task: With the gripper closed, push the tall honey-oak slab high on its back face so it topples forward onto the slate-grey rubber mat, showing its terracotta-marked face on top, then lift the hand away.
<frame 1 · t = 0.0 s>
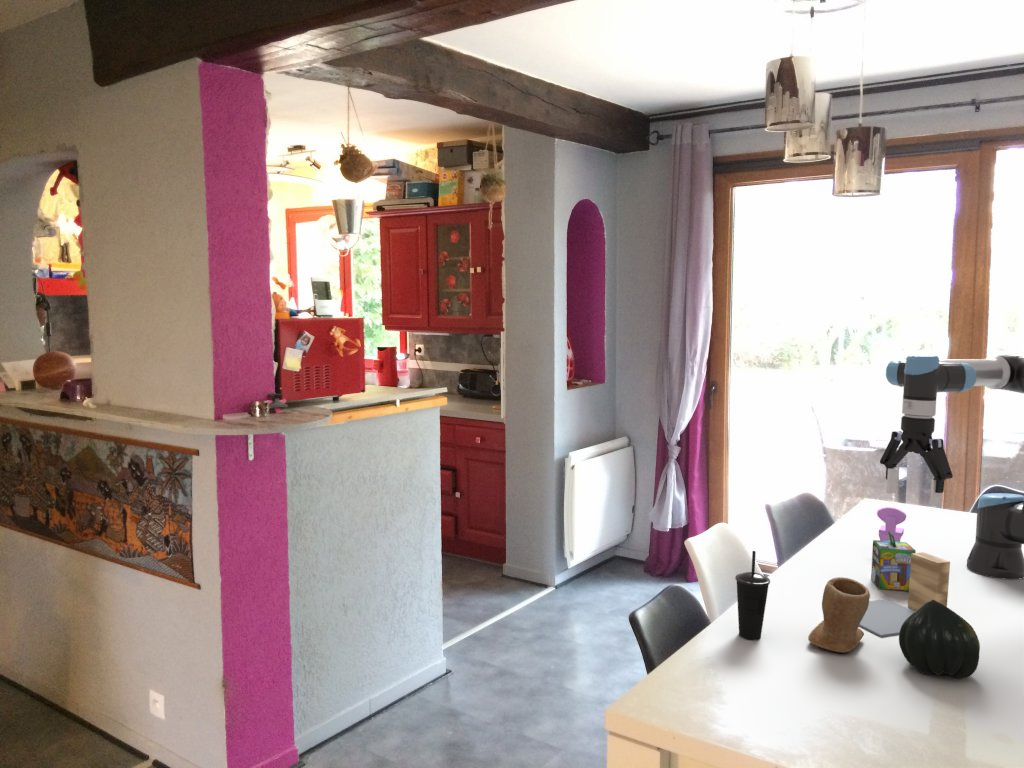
hand: (912, 499, 202), 28 cm above the table, tool pointing down, fingers open, 13 cm apart
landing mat: (883, 617, 196), on the table
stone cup: (839, 644, 180), on the table
drinking cup: (749, 636, 183), on the table
oak slab: (926, 611, 201), on the table
squash: (936, 671, 168), on the table
toy chair: (889, 553, 251), on the table
chalk box: (891, 585, 220), on the table
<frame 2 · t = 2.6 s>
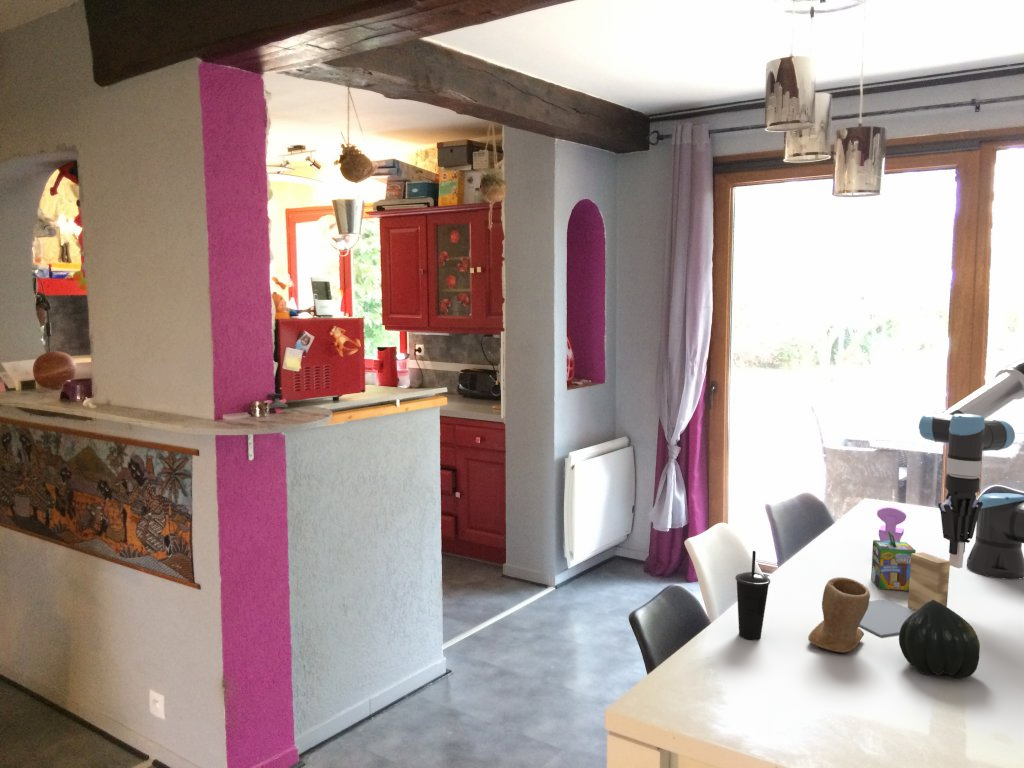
hand: (955, 566, 203), 11 cm above the table, tool pointing down, fingers closed
nothing on the table moved.
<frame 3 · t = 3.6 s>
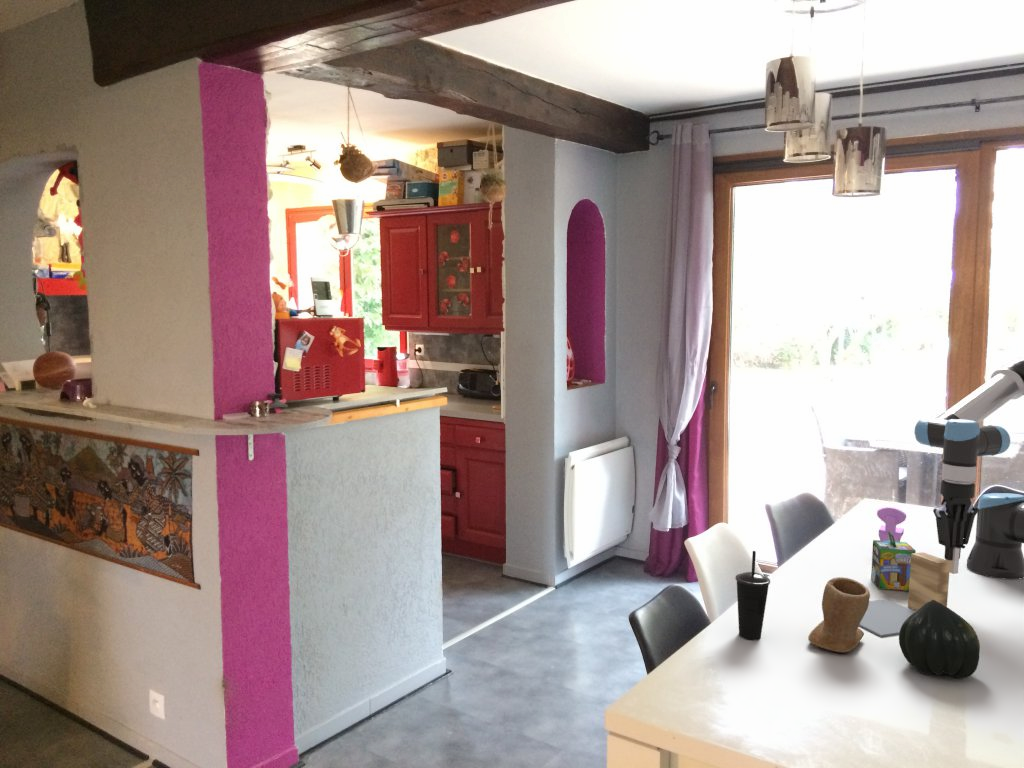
hand: (951, 571, 203), 10 cm above the table, tool pointing down, fingers closed
nothing on the table moved.
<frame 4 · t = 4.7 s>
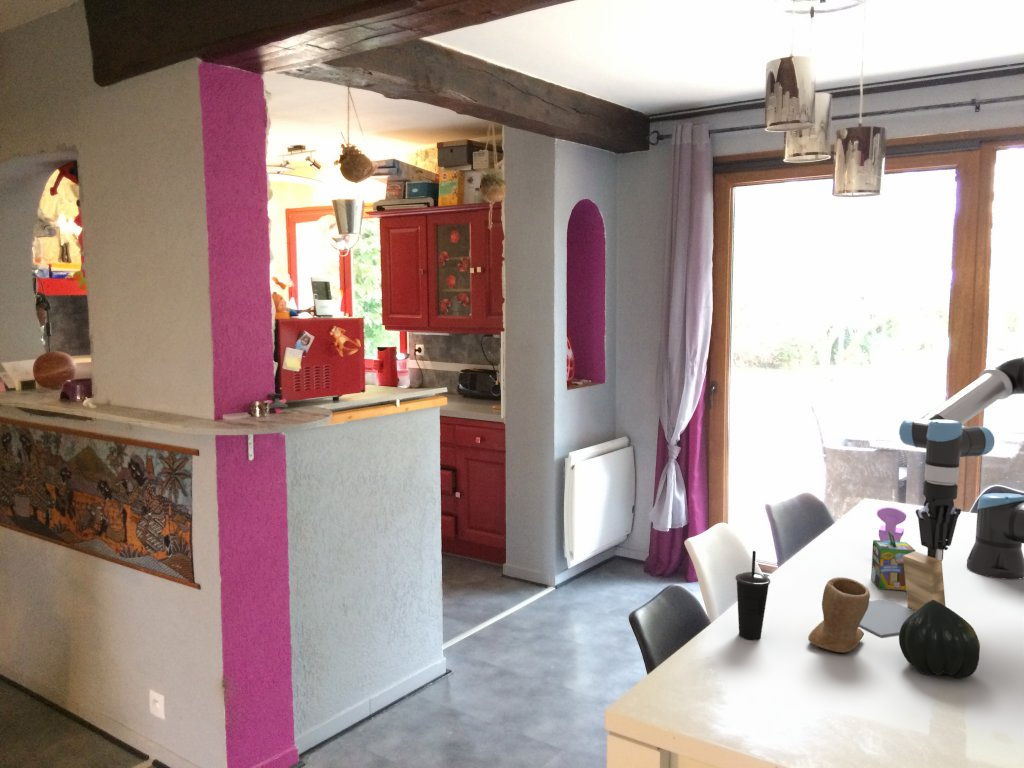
hand: (933, 573, 200), 10 cm above the table, tool pointing down, fingers closed
oak slab: (926, 609, 201), on the table, tilted 11°, touching gripper
everything else where it was.
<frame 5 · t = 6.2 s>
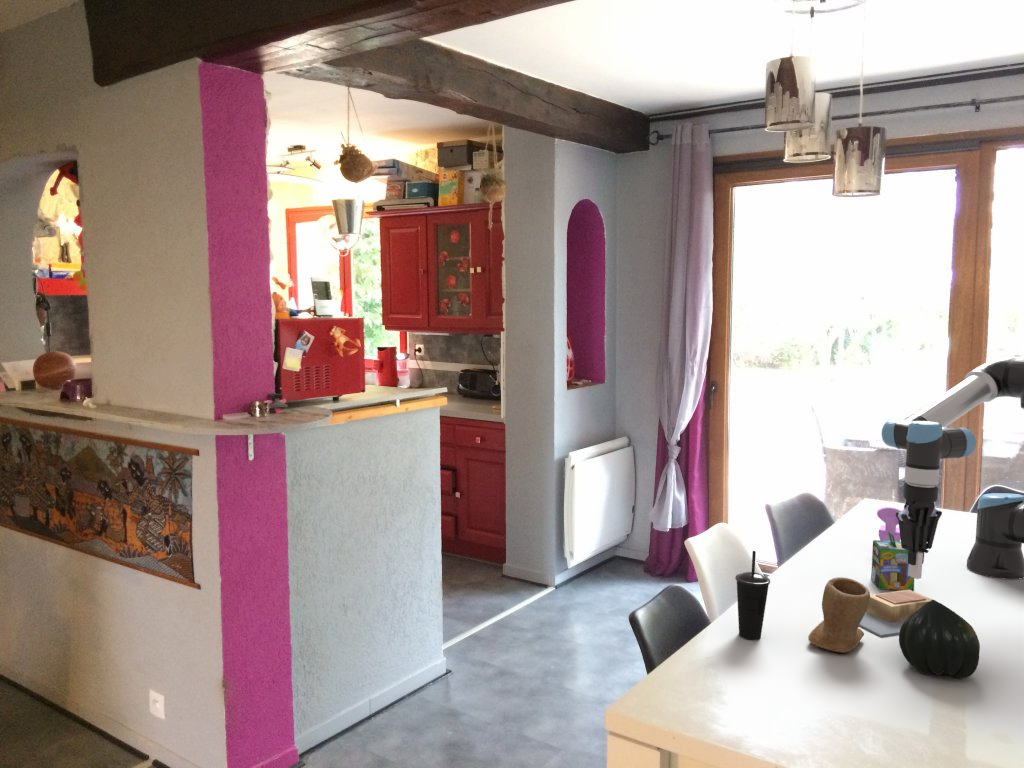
hand: (914, 576, 198), 9 cm above the table, tool pointing down, fingers closed
oak slab: (921, 602, 200), point 2 cm above the table, tilted 90°, touching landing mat
everything else where it was.
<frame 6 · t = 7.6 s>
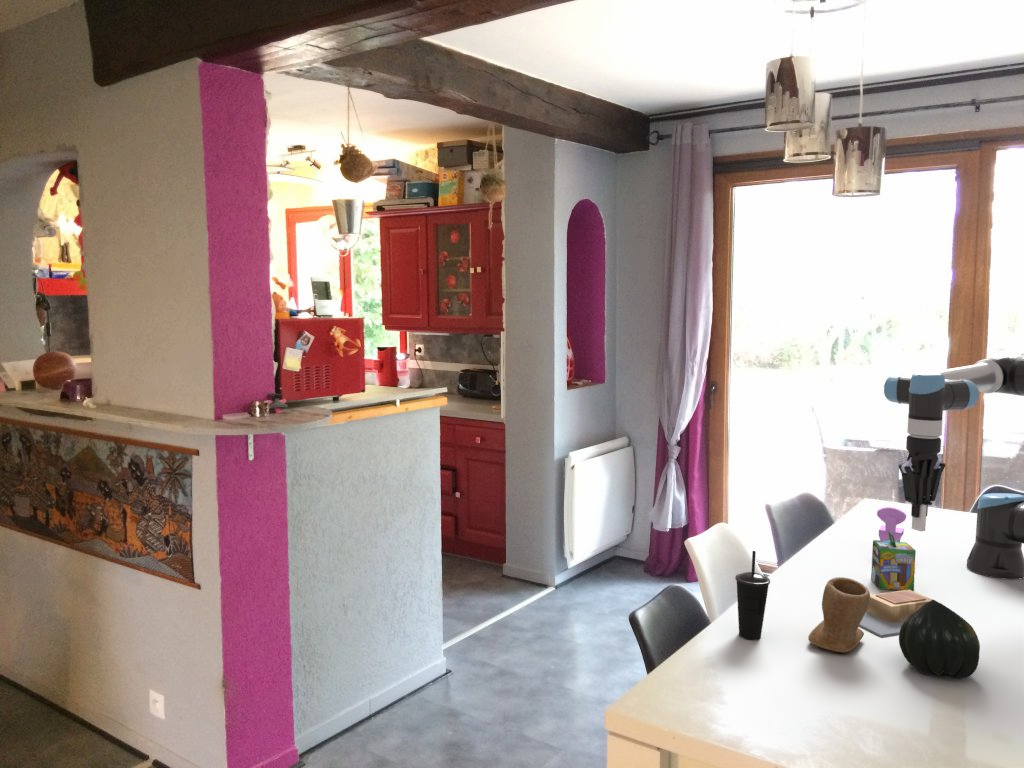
hand: (918, 529, 197), 22 cm above the table, tool pointing down, fingers closed
nothing on the table moved.
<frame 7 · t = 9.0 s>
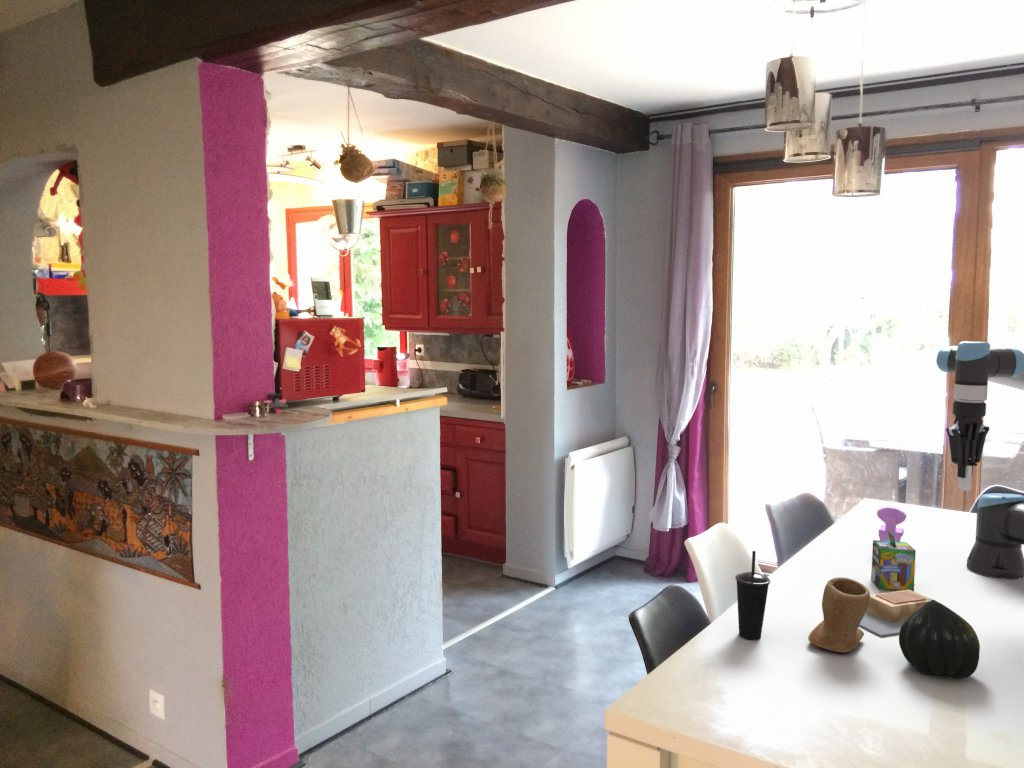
hand: (963, 489, 209), 29 cm above the table, tool pointing down, fingers closed
nothing on the table moved.
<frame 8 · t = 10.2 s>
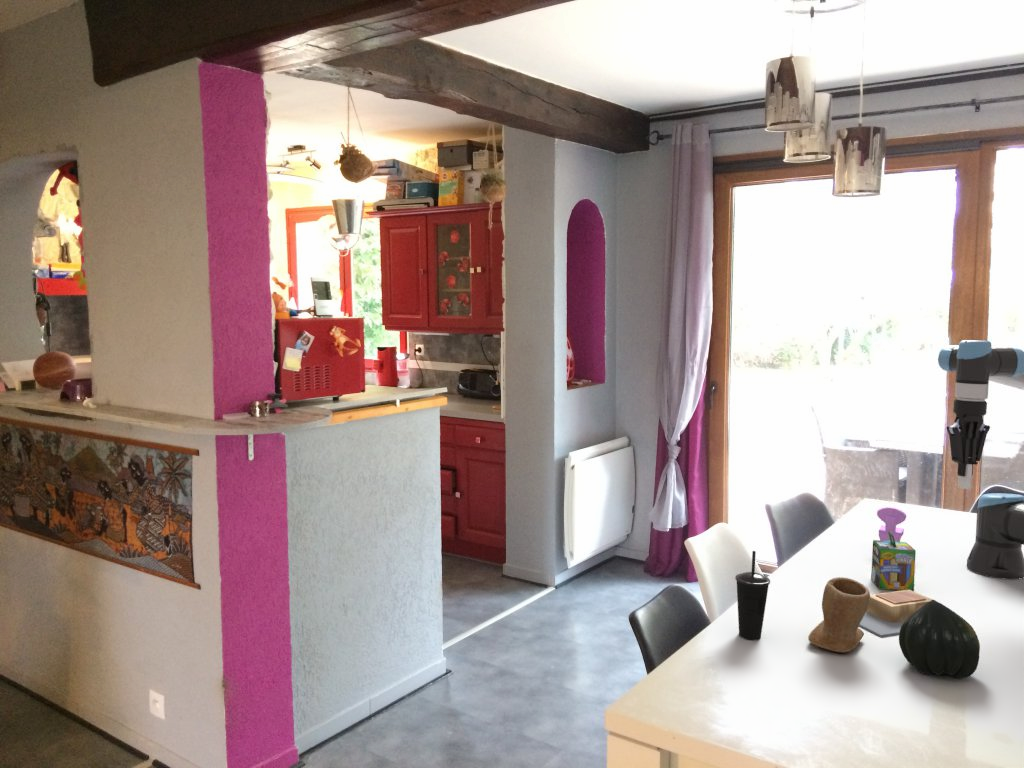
hand: (963, 488, 210), 29 cm above the table, tool pointing down, fingers closed
nothing on the table moved.
at the end: oak slab tilted 90°; oak slab inside the target area (2.0 cm from its centre), point 2.5 cm above the table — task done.
